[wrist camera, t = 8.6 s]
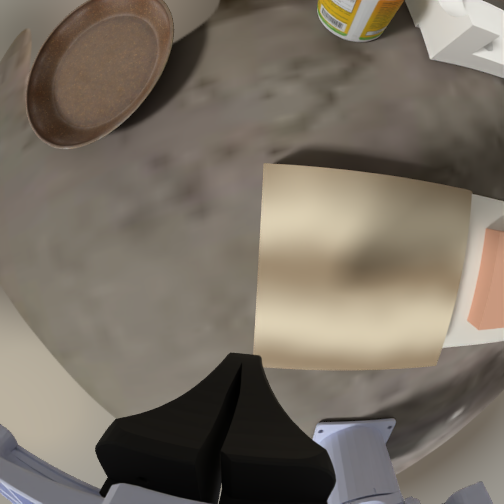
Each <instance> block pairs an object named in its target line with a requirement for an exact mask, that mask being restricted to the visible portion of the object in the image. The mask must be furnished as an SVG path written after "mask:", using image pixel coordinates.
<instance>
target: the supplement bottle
mask: <svg viewBox="0 0 504 504" xmlns="http://www.w3.org/2000/svg"><path fill="white" fill-rule="evenodd" d="M403 2H404V0H318V5H317V13H318V16H319V19H320V21H321V22H322V24H323V25H324V26H325V27H326V28H327V29H328V30H329V31H330V32H332V33H333V34H335V35H337V36H338V37H340V38H343V39H346V40H349V41H354V42H367V41H371V40H374V39H376V38H378V37H379V36H380V35H381V34H382V33H383V32H384V30H385V29H386V27H387V26H388V24H389V22H390V21H391V19H392V18H393V16H394V15H395V13H396V12H397V10H398V9H399V8H400V6H401V5H402V3H403Z"/></svg>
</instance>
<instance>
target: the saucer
mask: <svg viewBox="0 0 504 504" xmlns="http://www.w3.org/2000/svg"><path fill="white" fill-rule="evenodd" d="M173 37H174V25H173V18H172V15H171V12H170V10H169V8H168V6H167V5H166V3H165V2H164V1H163V0H88V1H86V2H85V3H83V4H82V5H80V6H79V7H77V8H76V9H75V10H73V11H72V12H71V13H69V15H67V16H66V17H65V18H64V19H63V20H62V21H61V22H60V23H59V24H58V25H57V26H56V27H55V28H54V30H53V31H52V32H51V33H50V35H49V36H48V37H47V39H46V40H45V42H44V44H43V45H42V46H41V48H40V50H39V52H38V54H37V56H36V58H35V60H34V63H33V65H32V68H31V71H30V74H29V78H28V82H27V88H26V111H27V116H28V120H29V123H30V125H31V127H32V129H33V130H34V132H35V134H36V135H37V136H38V137H39V138H40V139H41V140H42V141H43V142H45V143H46V144H48V145H50V146H52V147H55V148H60V149H73V148H79V147H82V146H86V145H88V144H91V143H93V142H95V141H97V140H99V139H101V138H103V137H104V136H106V135H108V134H109V133H111V132H112V131H113V130H115V129H116V128H117V127H119V126H120V125H121V124H122V123H123V122H124V121H125V120H126V119H128V118H129V117H130V116H131V115H132V114H133V113H134V112H135V111H136V109H137V108H138V107H139V106H140V105H141V104H142V103H143V101H144V100H145V99H146V98H147V96H148V95H149V94H150V92H151V91H152V89H153V88H154V86H155V85H156V83H157V81H158V80H159V78H160V76H161V74H162V72H163V70H164V68H165V65H166V63H167V61H168V58H169V55H170V52H171V48H172V43H173Z"/></svg>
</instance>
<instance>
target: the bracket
mask: <svg viewBox="0 0 504 504" xmlns="http://www.w3.org/2000/svg"><path fill="white" fill-rule="evenodd" d="M405 2H406V4H407V7H408V9H409V12H410V14H411V17H412V19H413V22H414V25H415V27H418V28H420V30H421V32H422V35H423V38H424V41H425V44H426V47H427V50H428V54H429V57H430V59H431V60H437V61H442V62H446V63H451V64H455V65H460V66H464V67H468V68H472V69H475V70H479V71H482V72H486V73H489V74H492V75H495V76H498V77H501V78H504V10H502V9H500V8H497V7H495V6H493V5H491V4H489V3H487V2H484V1H482V0H405Z"/></svg>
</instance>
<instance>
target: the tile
mask: <svg viewBox="0 0 504 504" xmlns="http://www.w3.org/2000/svg"><path fill="white" fill-rule="evenodd" d="M467 321H468V322H469V323H470V324H472V325H473V326H474V327H475V328H476V329H478V330H487V329H496V328H504V231H500V230H494V229H488V228H486V230H485V238H484V245H483V251H482V257H481V263H480V269H479V274H478V278H477V283H476V288H475V292H474V296H473V300H472V304H471V308H470V312H469V315H468V319H467Z"/></svg>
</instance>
